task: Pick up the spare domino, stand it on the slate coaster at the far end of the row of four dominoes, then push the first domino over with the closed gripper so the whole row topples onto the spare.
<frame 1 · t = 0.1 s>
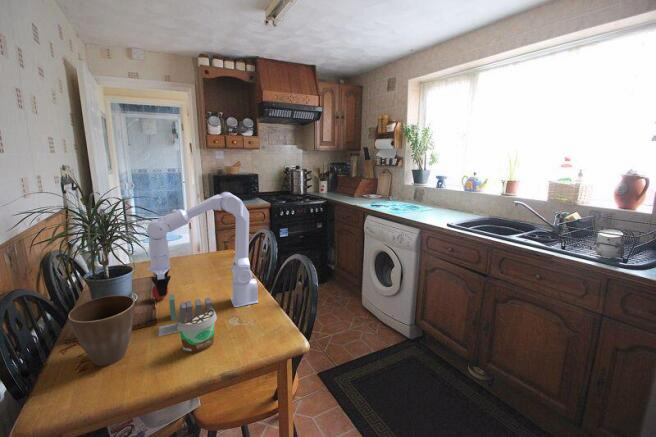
hand: (162, 291, 111), 10 cm above the table, fingers open, 7 cm apart
domino 3: (189, 325, 108), on the table
domino 2: (199, 323, 109), on the table
onion: (161, 300, 125), on the table
plant pot: (109, 358, 90), on the table
domino 5: (173, 317, 112), on the table
domino 1: (209, 321, 111), on the table
domino 4: (179, 327, 106), on the table, tilted 14°
food container: (203, 347, 96), on the table
coaster: (168, 329, 105), on the table
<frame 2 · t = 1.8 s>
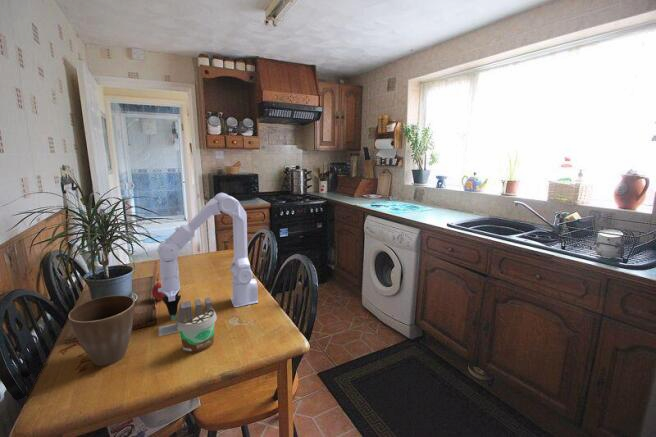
hand: (172, 311, 112), 2 cm above the table, fingers closed on domino 5, 4 cm apart
domino 3: (189, 325, 108), on the table, touching domino 4
domino 5: (173, 317, 112), on the table, touching gripper
domino 4: (179, 327, 106), on the table, tilted 11°, touching coaster, domino 3
everything else where it was.
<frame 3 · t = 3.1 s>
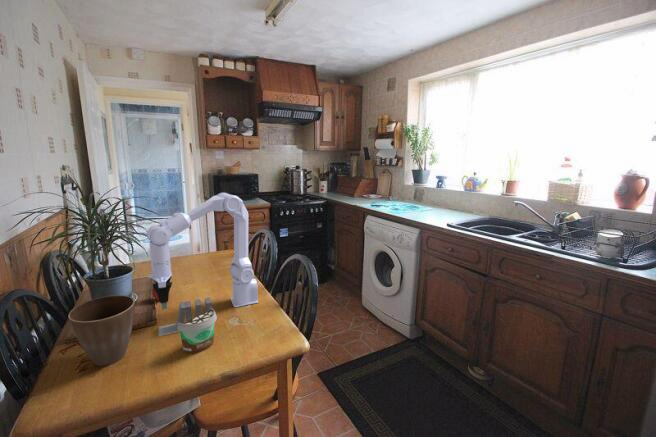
hand: (164, 299, 106), 9 cm above the table, fingers closed on domino 5, 4 cm apart
domino 3: (189, 325, 108), on the table
domino 5: (164, 306, 106), point 7 cm above the table, touching gripper
domino 4: (179, 327, 106), on the table, tilted 11°, touching coaster
everything else where it was.
when the fingers open (4 cm above the table, at t = 4.9 s): domino 5 stays where it is, resting on coaster.
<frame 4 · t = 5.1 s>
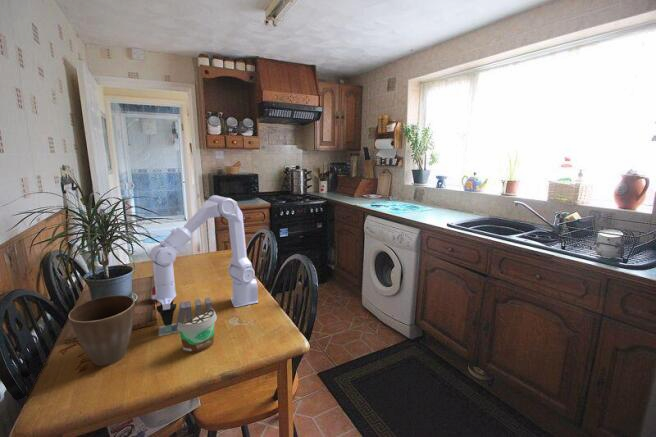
hand: (168, 319, 104), 4 cm above the table, fingers open, 6 cm apart
domino 3: (189, 325, 108), on the table, touching domino 4
domino 5: (168, 329, 105), resting on coaster
domino 4: (179, 327, 106), on the table, tilted 11°, touching coaster, domino 3
everything else where it was.
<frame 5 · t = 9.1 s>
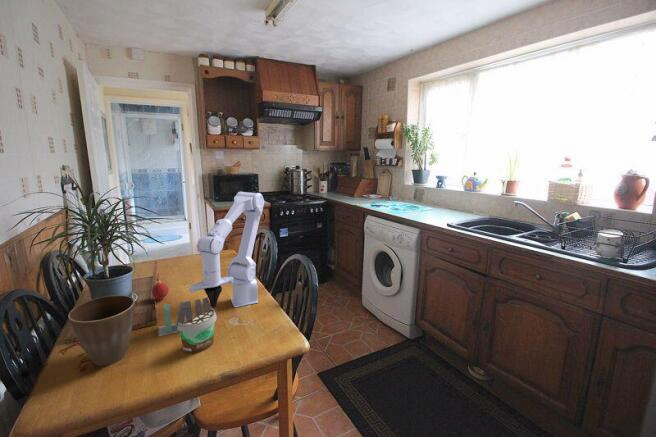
hand: (213, 306, 110), 5 cm above the table, fingers closed
domino 1: (209, 321, 111), on the table, tilted 6°, touching gripper
everything else where it was.
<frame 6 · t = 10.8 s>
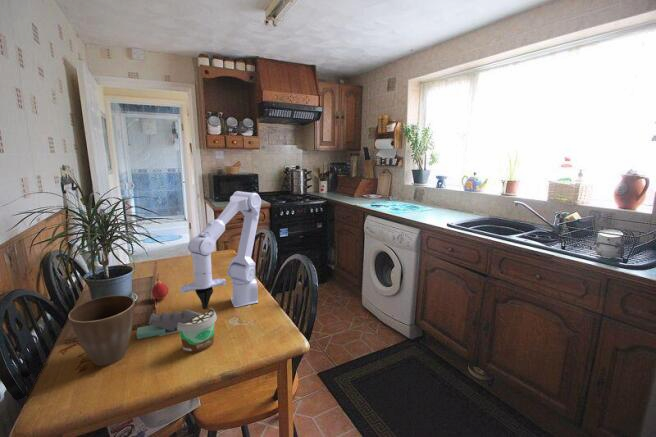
hand: (204, 307, 109), 5 cm above the table, fingers closed
domino 3: (185, 324, 107), point 1 cm above the table, tilted 56°, touching domino 2, domino 4
domino 2: (195, 322, 108), point 1 cm above the table, tilted 58°, touching domino 1, domino 3
domino 5: (165, 327, 104), point 1 cm above the table, tilted 90°, touching coaster, domino 4
domino 1: (205, 320, 110), point 1 cm above the table, tilted 59°, touching domino 2
domino 4: (174, 326, 105), point 1 cm above the table, tilted 56°, touching domino 3, domino 5
everything else where it was.
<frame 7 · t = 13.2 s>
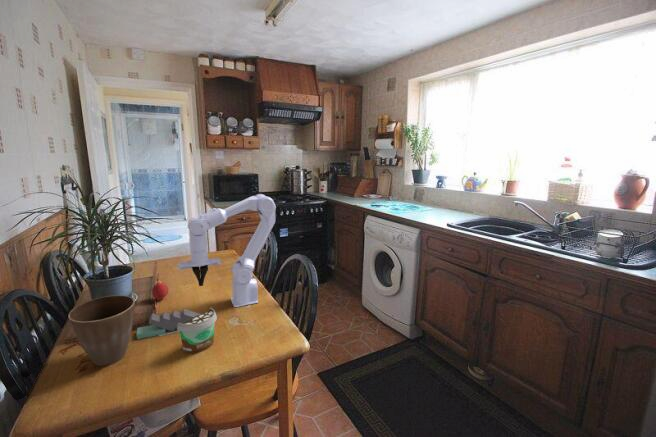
hand: (201, 284, 117), 10 cm above the table, fingers closed
nothing on the table moved.
at the end: domino 5 tilted 90°; domino 1 tilted 58°; domino 5 inside the target area (0.1 cm from its centre), point 1.0 cm above the table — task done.
